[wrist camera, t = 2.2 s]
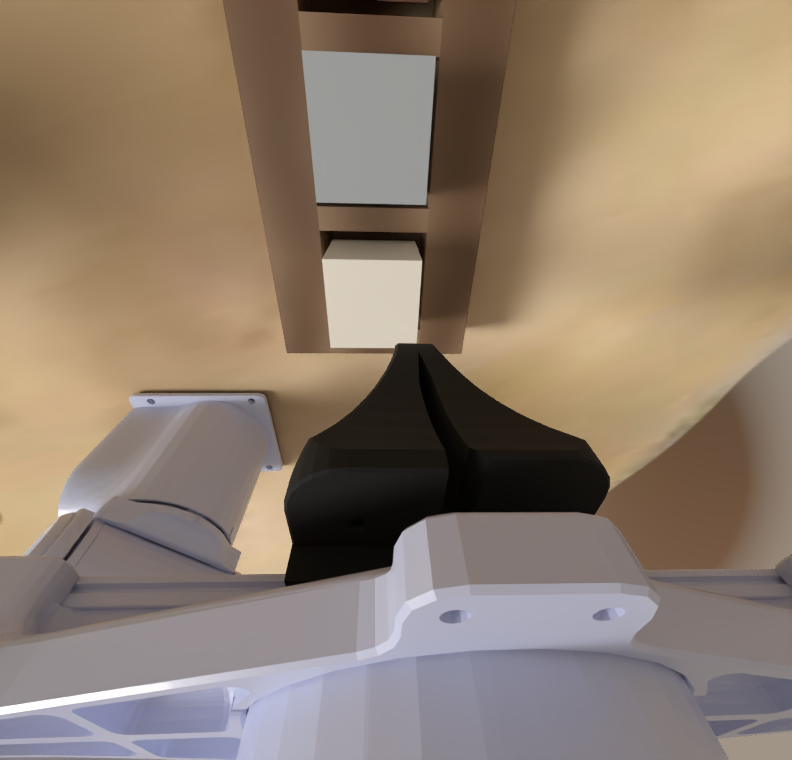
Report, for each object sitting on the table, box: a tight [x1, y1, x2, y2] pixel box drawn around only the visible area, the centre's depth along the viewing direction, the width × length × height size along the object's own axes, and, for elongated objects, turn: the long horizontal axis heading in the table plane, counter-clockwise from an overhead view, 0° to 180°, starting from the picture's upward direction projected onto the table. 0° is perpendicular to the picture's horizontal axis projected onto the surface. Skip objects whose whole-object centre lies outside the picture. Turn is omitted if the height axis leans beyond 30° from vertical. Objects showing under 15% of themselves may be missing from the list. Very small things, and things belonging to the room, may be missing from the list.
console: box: [223, 0, 516, 354], centre depth 15 cm, size 10×20×3 cm, turn 178°
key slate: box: [302, 50, 436, 205], centre depth 13 cm, size 4×4×4 cm
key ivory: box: [322, 240, 422, 348], centre depth 16 cm, size 4×4×4 cm
